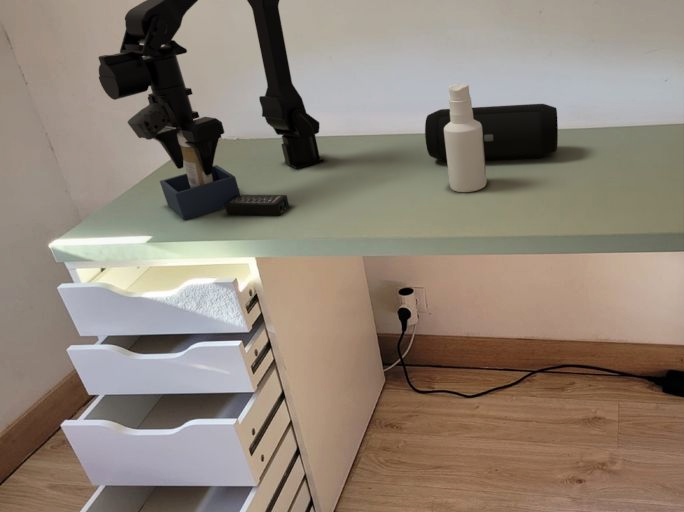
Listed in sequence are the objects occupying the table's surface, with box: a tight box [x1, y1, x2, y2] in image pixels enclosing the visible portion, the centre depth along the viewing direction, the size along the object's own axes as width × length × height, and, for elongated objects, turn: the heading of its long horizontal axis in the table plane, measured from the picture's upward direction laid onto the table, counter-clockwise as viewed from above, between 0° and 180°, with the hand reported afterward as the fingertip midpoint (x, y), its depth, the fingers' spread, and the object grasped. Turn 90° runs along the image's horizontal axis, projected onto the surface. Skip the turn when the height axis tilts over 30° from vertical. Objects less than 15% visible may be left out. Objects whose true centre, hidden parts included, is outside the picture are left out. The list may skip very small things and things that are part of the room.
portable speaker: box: [424, 103, 559, 162], centre depth 141 cm, size 26×10×10 cm, turn 81°
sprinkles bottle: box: [177, 130, 213, 188], centre depth 133 cm, size 5×5×14 cm
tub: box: [159, 164, 241, 221], centre depth 136 cm, size 11×10×5 cm
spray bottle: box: [444, 82, 488, 193], centre depth 127 cm, size 7×7×18 cm
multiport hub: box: [224, 194, 290, 217], centre depth 131 cm, size 4×11×2 cm, turn 75°
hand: (194, 171), depth 134 cm, fingers open, 9 cm apart
